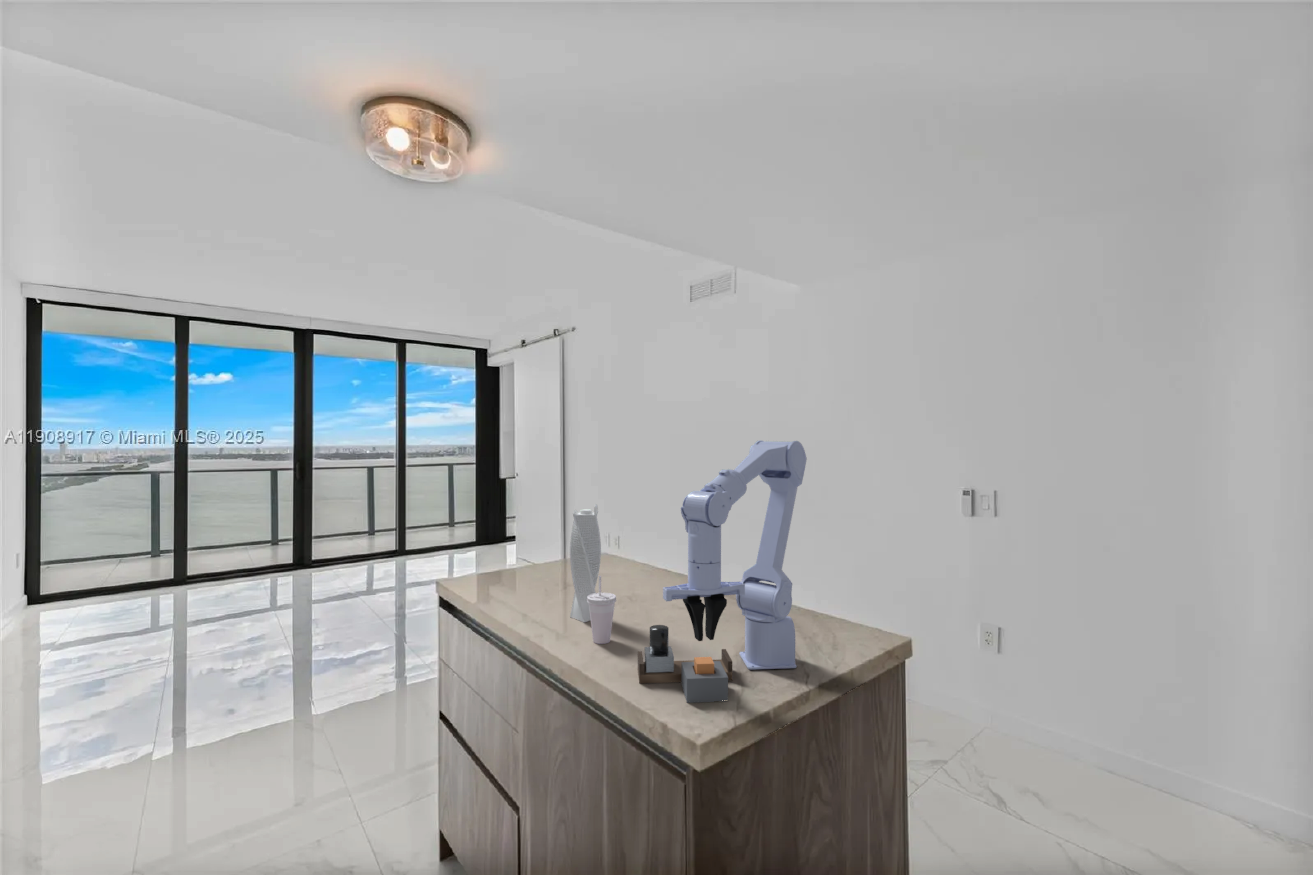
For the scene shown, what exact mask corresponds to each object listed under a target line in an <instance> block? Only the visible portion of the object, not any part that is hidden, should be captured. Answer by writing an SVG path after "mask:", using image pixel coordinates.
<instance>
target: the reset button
mask: <svg viewBox="0 0 1313 875" xmlns="http://www.w3.org/2000/svg"><path fill="white" fill-rule="evenodd" d="M693 660H694V672H695V674H714V662H713V660H714V659H713V657H712V656H698V657H697V656H695V657H693Z"/></svg>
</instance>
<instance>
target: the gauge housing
mask: <svg viewBox="0 0 1313 875" xmlns="http://www.w3.org/2000/svg"><path fill="white" fill-rule="evenodd" d="M713 662H714V674H695V672H694V662H682V663H681V682H680V683H681V688H682V691H683V694H684V698H685V701H686V703H687V704H688V703H712V702H713V703H715V702H714V701H721V702H725V701H724V700H728V701H729V681H728V676H727V674H726V672H725V670H724V668H723V666H722V664H721V662H720V661H713ZM722 700H723V701H722Z"/></svg>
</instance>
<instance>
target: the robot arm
mask: <svg viewBox="0 0 1313 875" xmlns="http://www.w3.org/2000/svg"><path fill="white" fill-rule="evenodd" d="M748 452H749V453H748V454H747V456H746V457H745V458H744V459H743V460H742V461H740V463H738V465H737V466H736V467H735V468H734V469H731V468H730V469H729V468H728V469H720V471H719V472H718V475H717V476H715V477H714V478H713V479H712V480H711V481H709V482H707V483H706V484H705V485H704V487H703V488H701V489H700V490H693V491H691V492H689V493H688V494H687V495H686V496H685V497H684V498H683V501H682V506H681V507H680V514H681V517H682V519H683V522H684V525H685V532H686V533H687V539H688V540H687V541H688V542H687V559H688V560H687V583H681V584H676V585H672V586H665V587H664V586H663V587H662V599H663V600H664V601H665V602H672V601H674V600H682V601H683V604H684V606H685V608H686V610H687V612H688V615H689V617H690V618H689V619H690V620H691V625H692V629H693V634H694V639H696V640H697V641H698V642H703V640H704V627H705V637H706V638H707V639H708V640H709V641H713V640H714V638H715V634H716V631H717V626H718V623H719V621H720V618H721V616H722V614H723V611H724V610H725V608H726V607H727V604H728V599H727V598H725V596H732V595H733V596H734V595H735V601H736V605H737V607H738V608H739V609H740V610H741V615H742V616H744V637H745V638H744V651H739V654H738V655H739V656H740V658H741V660H742V661H743V663H744V664H745V666H746V668H747V669H748V670H774V669H775V670H776V669H779V670H780V669H796V668H797V664H796V630H795V629H796V628H795V624H794V621H793V620H794V619H793V618H792V617H791V616H789V613H790V612H791V610H792V605H793V598H792V597H793V595H792V592H793V589H792V588H793V582H792V580H791V579H790V578H789V577H788V575H787V574H786V573H785V572H784V571H783V564H784V560H785V556H786V550H787V545H788V539H789V533H790V529H791V524H792V519H793V513H794V512H793V511H794V508H795V504H796V497H797V492H798V487H800V486H801V485H802V484H803V480H804V476H805V470H806V467H807V466H806V465H807V460H808V459H807V454H806V450H805V448H804V446H803V444H802V443H801V442H800V441H798V440H793V441H785V440H784V441H777V440H776V441H774V440H773V441H769V440H768V441H767V440H766V441H765V440H757V441H756V442H754V444H752V445H750V448H749V451H748ZM758 476H759V477H760V479H761V481H762V482H763V483H764V484H766V485H768V486H769V488H770V493H769V497H768V503H767V507H766V512H765V513H766V514H765V518H764V522H763V527H762V533H761V537H760V541H759V547H758V551H757V555H756V556H757V558H756V562H755V564H753V565H752V566H751V567H749V568H747V569H746V570H745V571H743V573H742V579H741V581H722V525H723V524H725V523H726V521H727V519H728V517H729V513H730V511H731V510H732V507H733V505H734V504H735V503H737V501H739V500H740V499H741V498H743V496H744V495H745V494H746V492H747V488H748V487H747V485H748V483H751V481H753V480H754V479H755V478H757V477H758ZM762 581H763V582H762ZM766 582H767V583H766ZM771 583H773V584H771ZM701 598H703V599H701ZM702 600H703V601H704V602H702ZM704 614H705V615H704ZM704 616H705V622H704ZM704 623H705V626H704Z"/></svg>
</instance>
